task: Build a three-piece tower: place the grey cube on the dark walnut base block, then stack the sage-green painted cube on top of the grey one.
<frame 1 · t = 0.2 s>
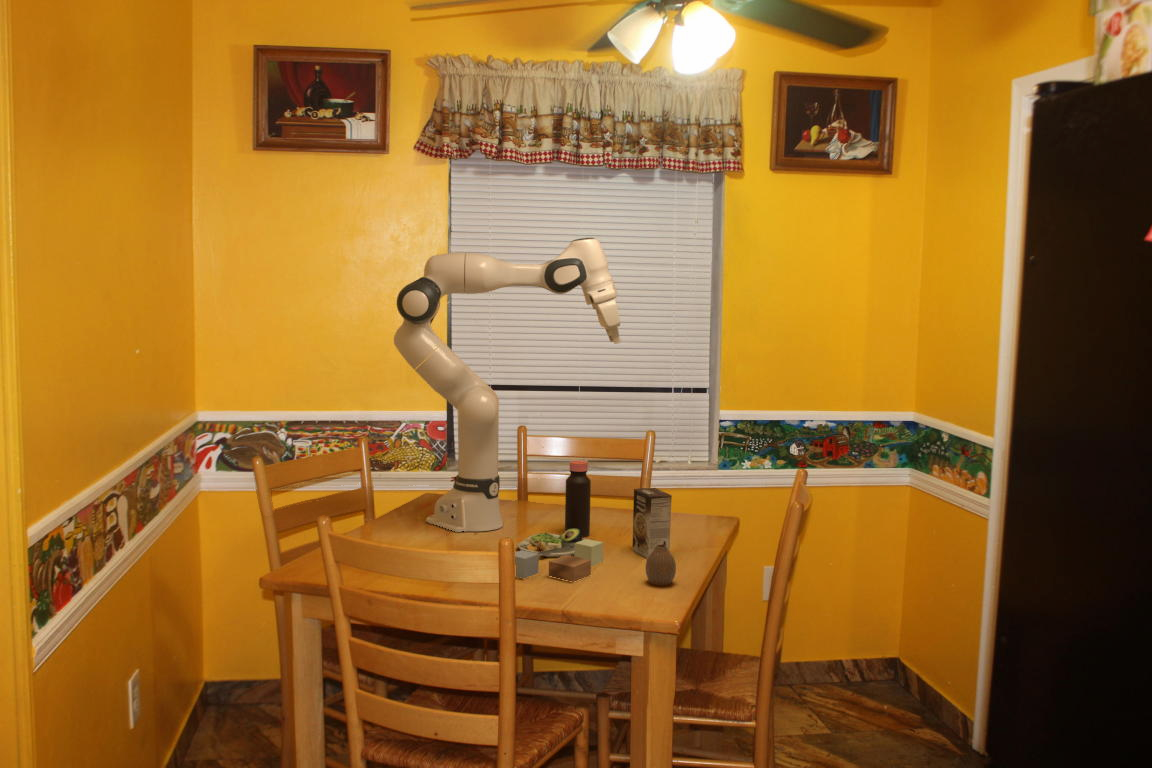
hand: (615, 342, 258), 52 cm above the table, tool tilted 20°, fingers open, 8 cm apart
salad plate: (554, 550, 240), on the table
bottle: (577, 535, 253), on the table
walnut base: (569, 577, 216), on the table
green cube: (588, 562, 228), on the table
brown rounded piece: (660, 584, 213), on the table
coffee box: (650, 554, 236), on the table
grey cube: (523, 575, 217), on the table
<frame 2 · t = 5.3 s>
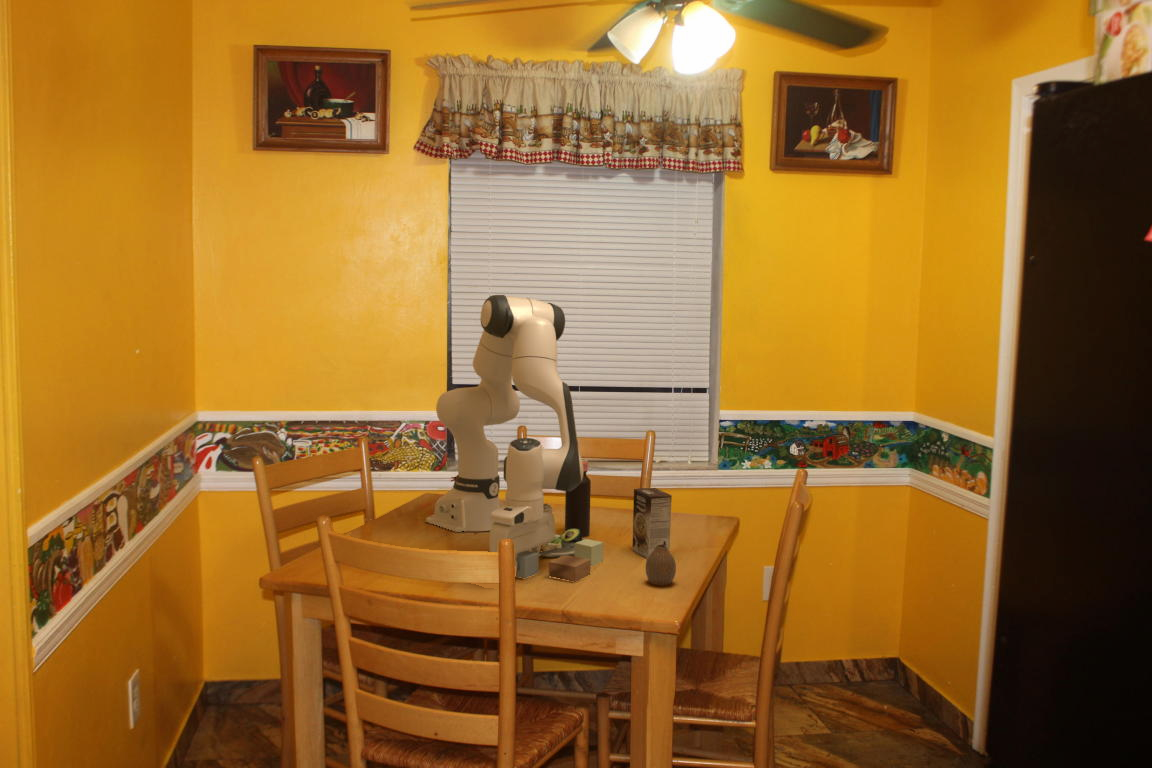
hand: (523, 568, 217), 2 cm above the table, tool pointing down, fingers closed on grey cube, 5 cm apart
grey cube: (523, 574, 217), on the table, touching gripper
everything else where it was.
when the fingers open (6 cm above the table, at t = 9.8 s): grey cube stays where it is, resting on walnut base.
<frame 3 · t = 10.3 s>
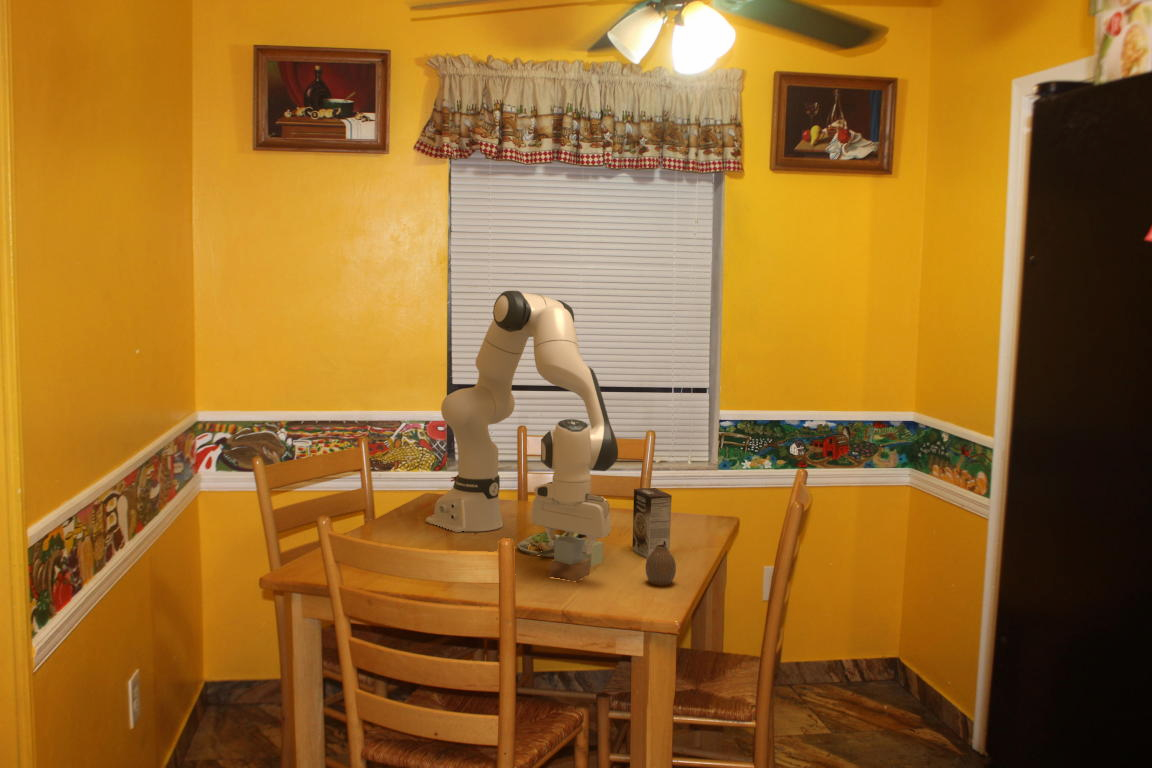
hand: (570, 549, 216), 6 cm above the table, tool pointing down, fingers open, 8 cm apart
walnut base: (569, 577, 216), on the table, touching grey cube
grey cube: (569, 560, 216), point 4 cm above the table, touching walnut base
everything else where it was.
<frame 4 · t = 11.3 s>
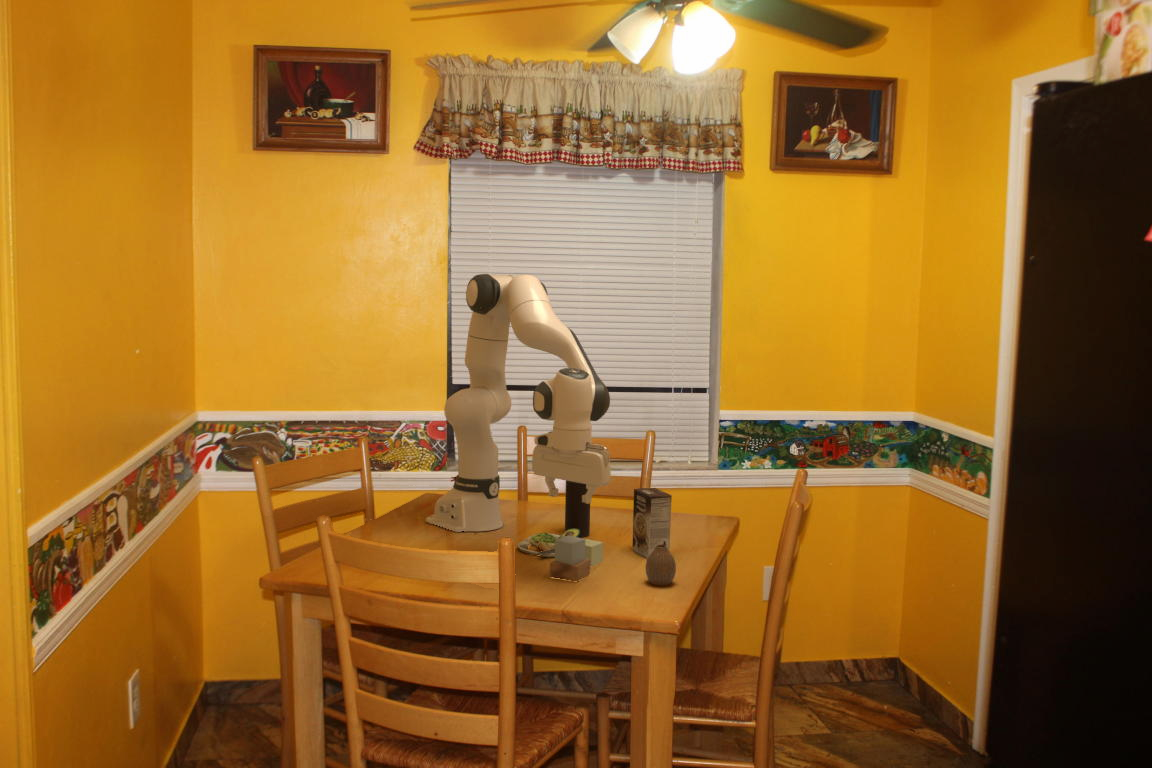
hand: (569, 499, 215), 18 cm above the table, tool pointing down, fingers open, 8 cm apart
walnut base: (570, 577, 216), on the table
grey cube: (569, 560, 216), point 4 cm above the table
everything else where it was.
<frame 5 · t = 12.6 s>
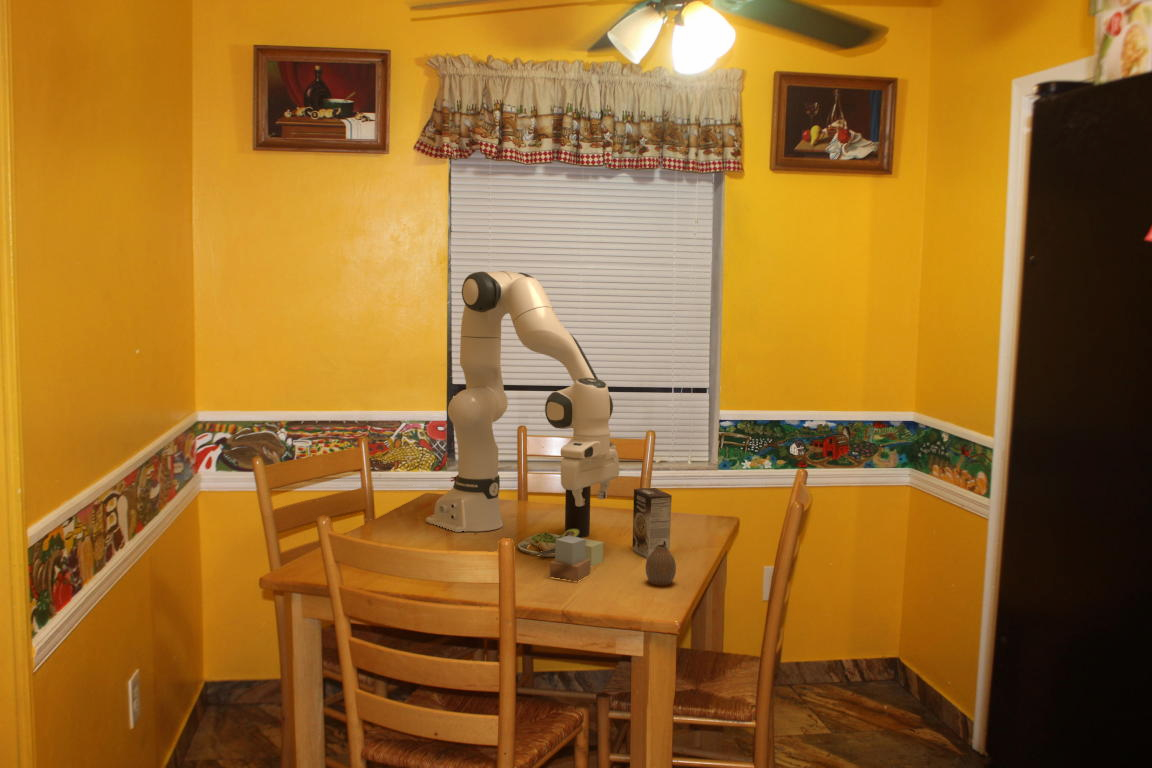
hand: (591, 502, 226), 15 cm above the table, tool pointing down, fingers open, 8 cm apart
nothing on the table moved.
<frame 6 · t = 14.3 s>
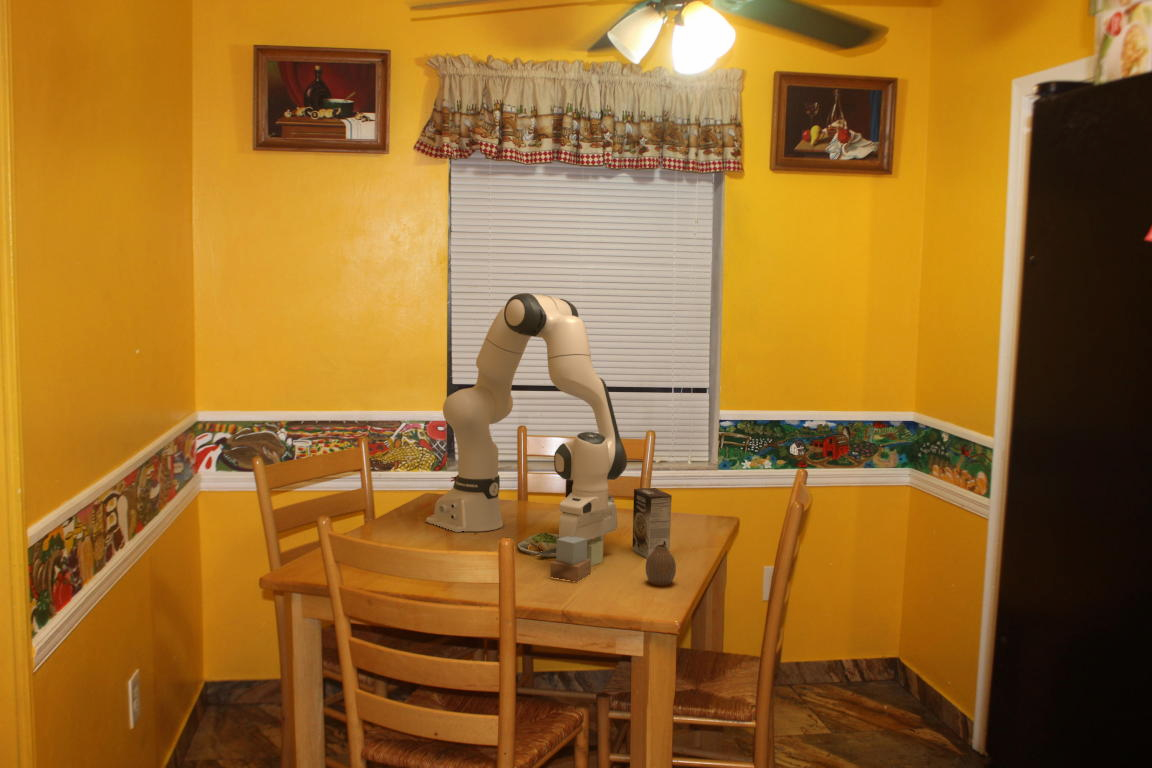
hand: (588, 555, 228), 2 cm above the table, tool pointing down, fingers closed on green cube, 5 cm apart
green cube: (588, 562, 228), on the table, touching gripper
everything else where it was.
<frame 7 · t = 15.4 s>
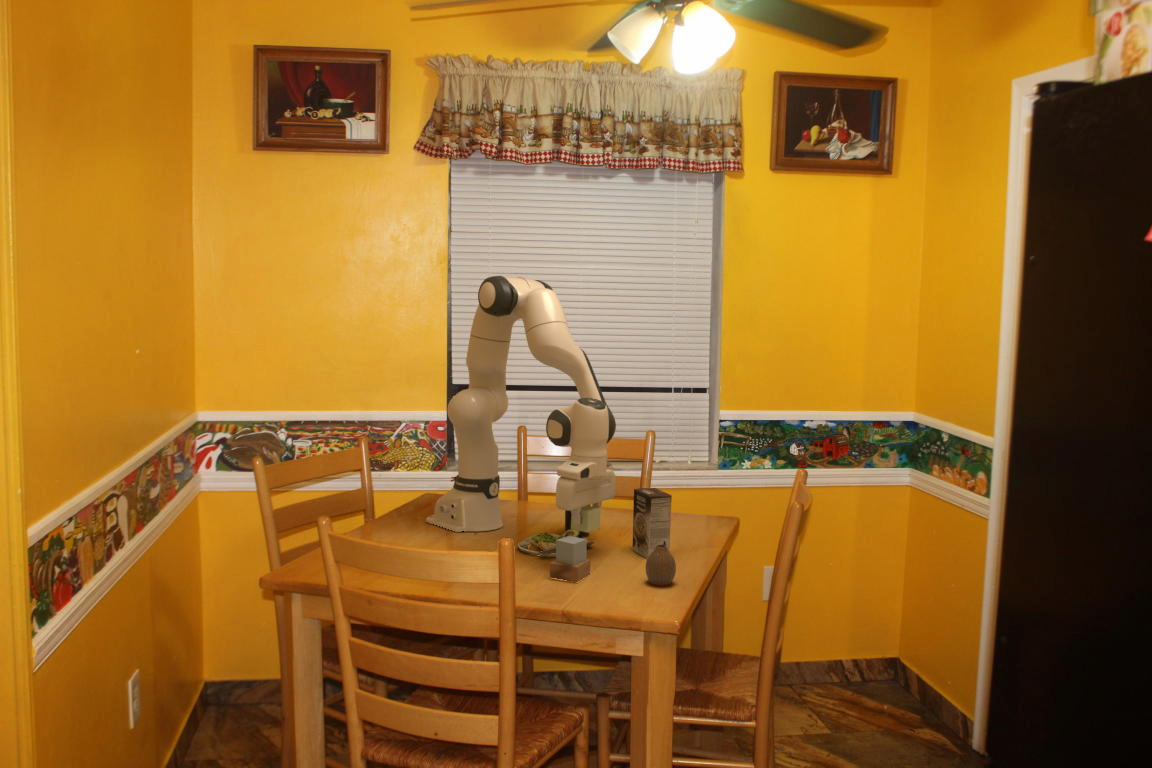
hand: (585, 522, 227), 10 cm above the table, tool pointing down, fingers closed on green cube, 5 cm apart
walnut base: (570, 578, 216), on the table, touching grey cube
green cube: (585, 528, 227), point 8 cm above the table, touching gripper
grey cube: (571, 560, 216), point 4 cm above the table, touching walnut base
everything else where it was.
when the fingers open (11 cm above the table, at t = 19.0 s): green cube moves 1 cm, resting on grey cube.
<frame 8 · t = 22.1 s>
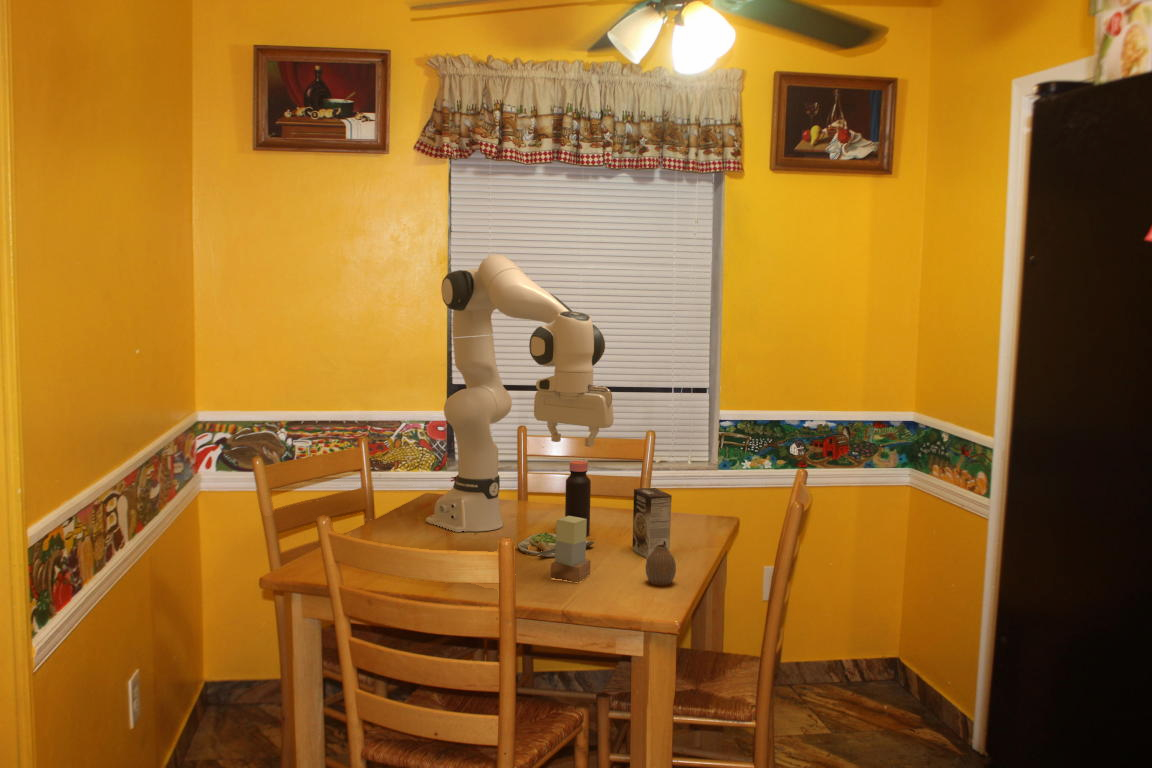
hand: (572, 443, 213), 31 cm above the table, tool pointing down, fingers open, 8 cm apart
green cube: (571, 540, 215), point 9 cm above the table, touching grey cube
grey cube: (570, 562, 215), point 4 cm above the table, touching green cube, walnut base
everything else where it was.
at the end: grey cube 0.4 cm off-centre on the walnut base, point 4.0 cm above the walnut base's base; green cube 0.3 cm off-centre on the grey cube, point 5.0 cm above the grey cube's base; green cube tilted 1° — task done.
